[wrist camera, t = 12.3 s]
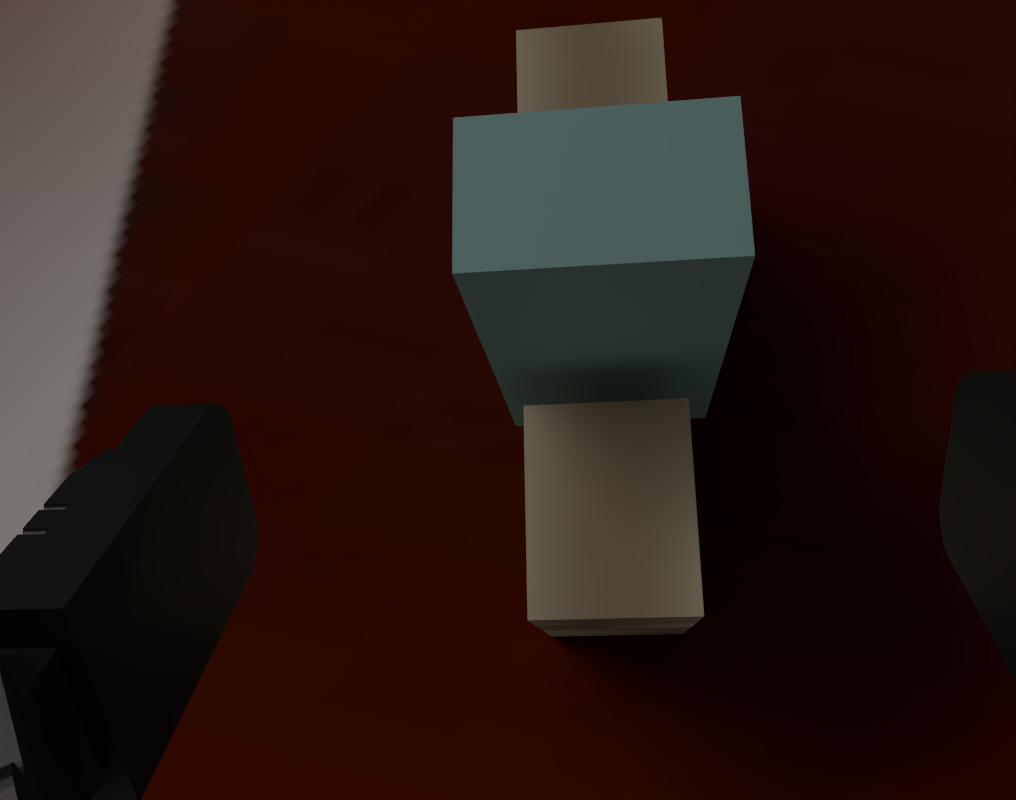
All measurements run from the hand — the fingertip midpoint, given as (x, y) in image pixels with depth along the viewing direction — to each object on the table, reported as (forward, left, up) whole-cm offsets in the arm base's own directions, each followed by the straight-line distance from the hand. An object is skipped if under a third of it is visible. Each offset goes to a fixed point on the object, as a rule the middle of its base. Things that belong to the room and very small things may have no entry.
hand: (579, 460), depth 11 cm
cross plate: (0, -6, -14) cm, 15 cm away
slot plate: (0, -6, -16) cm, 17 cm away
